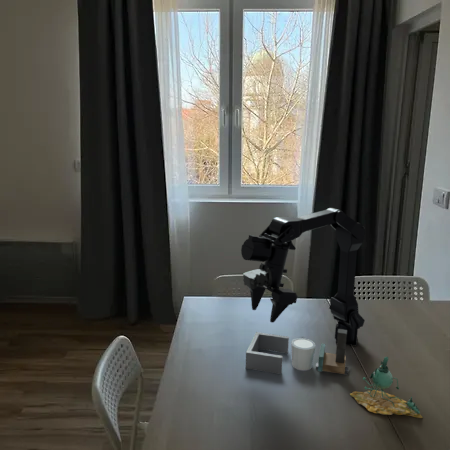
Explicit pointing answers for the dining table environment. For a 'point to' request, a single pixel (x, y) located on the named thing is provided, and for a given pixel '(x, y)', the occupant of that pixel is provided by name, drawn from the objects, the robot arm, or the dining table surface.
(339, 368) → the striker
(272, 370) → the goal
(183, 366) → the dining table surface
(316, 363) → the rail
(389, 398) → the gold and teal figure
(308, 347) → the white cylinder
